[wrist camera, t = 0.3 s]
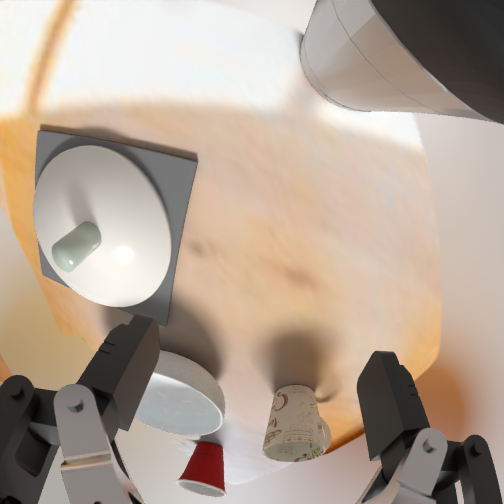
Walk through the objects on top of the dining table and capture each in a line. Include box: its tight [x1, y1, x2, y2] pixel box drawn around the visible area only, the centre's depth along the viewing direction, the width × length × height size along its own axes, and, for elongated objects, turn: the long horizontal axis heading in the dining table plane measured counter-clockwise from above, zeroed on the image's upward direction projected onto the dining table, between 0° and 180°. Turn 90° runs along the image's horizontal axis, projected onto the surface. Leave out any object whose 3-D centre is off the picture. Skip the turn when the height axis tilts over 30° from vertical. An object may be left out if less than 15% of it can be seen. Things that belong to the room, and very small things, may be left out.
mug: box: [263, 385, 331, 462], centre depth 34 cm, size 8×13×10 cm, turn 53°
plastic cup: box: [176, 442, 226, 497], centre depth 46 cm, size 11×11×12 cm
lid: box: [33, 145, 173, 307], centre depth 25 cm, size 19×19×6 cm
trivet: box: [35, 130, 198, 326], centre depth 28 cm, size 20×20×1 cm
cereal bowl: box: [134, 350, 225, 436], centre depth 35 cm, size 17×17×7 cm
